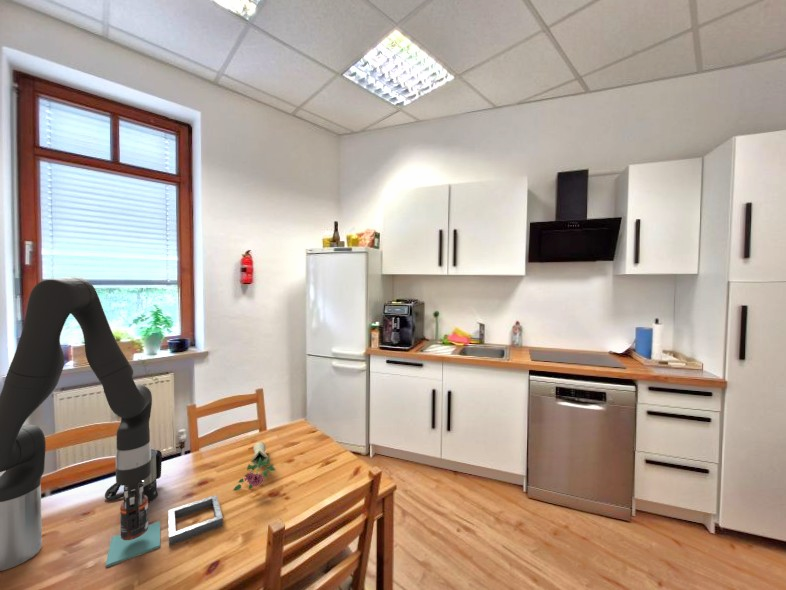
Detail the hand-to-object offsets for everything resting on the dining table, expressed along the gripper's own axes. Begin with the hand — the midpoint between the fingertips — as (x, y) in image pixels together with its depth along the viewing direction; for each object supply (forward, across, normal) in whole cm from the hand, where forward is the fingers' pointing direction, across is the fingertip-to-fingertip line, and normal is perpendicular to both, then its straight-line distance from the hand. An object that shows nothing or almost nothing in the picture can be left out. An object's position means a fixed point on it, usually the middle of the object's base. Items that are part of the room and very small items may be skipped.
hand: (134, 521), depth 88 cm
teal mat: (+6, 0, 0) cm, 6 cm away
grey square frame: (+6, 0, -14) cm, 15 cm away
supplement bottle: (+3, 0, 0) cm, 3 cm away
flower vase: (+6, +16, -35) cm, 39 cm away
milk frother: (+6, +25, +3) cm, 26 cm away
